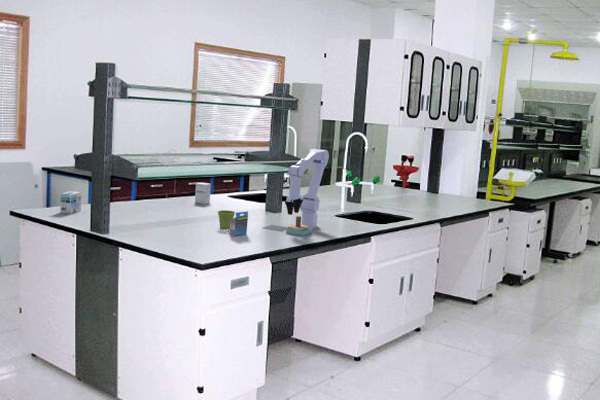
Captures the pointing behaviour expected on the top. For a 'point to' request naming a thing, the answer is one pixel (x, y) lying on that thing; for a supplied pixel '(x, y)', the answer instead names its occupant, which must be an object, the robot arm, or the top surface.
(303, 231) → the dish
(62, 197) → the light bulb box
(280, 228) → the mat
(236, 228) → the label tape box
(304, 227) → the lid
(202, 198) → the supplement box
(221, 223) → the plant pot
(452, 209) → the top surface
